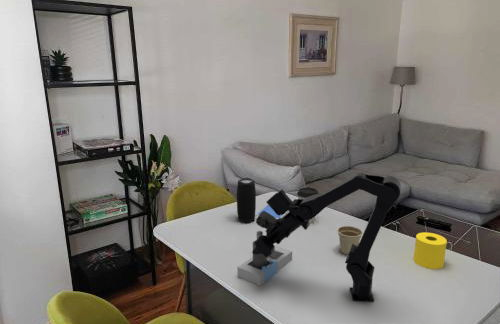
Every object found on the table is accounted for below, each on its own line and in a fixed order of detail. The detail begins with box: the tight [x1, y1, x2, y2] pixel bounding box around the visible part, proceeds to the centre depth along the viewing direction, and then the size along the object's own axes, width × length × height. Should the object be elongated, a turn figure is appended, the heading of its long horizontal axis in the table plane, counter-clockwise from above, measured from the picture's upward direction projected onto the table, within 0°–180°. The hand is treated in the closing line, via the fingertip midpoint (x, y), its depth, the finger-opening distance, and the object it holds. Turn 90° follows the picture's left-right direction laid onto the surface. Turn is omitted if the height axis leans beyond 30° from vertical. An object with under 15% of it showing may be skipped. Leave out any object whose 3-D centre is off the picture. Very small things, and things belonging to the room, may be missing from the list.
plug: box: [252, 230, 267, 270], centre depth 130 cm, size 5×5×14 cm
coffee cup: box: [296, 187, 320, 225], centre depth 173 cm, size 10×10×15 cm
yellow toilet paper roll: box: [413, 231, 448, 270], centre depth 137 cm, size 10×10×9 cm
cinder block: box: [236, 244, 293, 286], centre depth 134 cm, size 10×21×4 cm, turn 144°
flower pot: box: [336, 225, 364, 256], centre depth 145 cm, size 9×9×9 cm
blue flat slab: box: [255, 204, 289, 219], centre depth 187 cm, size 19×13×1 cm, turn 153°
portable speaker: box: [236, 177, 257, 224], centre depth 174 cm, size 9×9×20 cm
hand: (256, 249), depth 130 cm, fingers open, 5 cm apart
